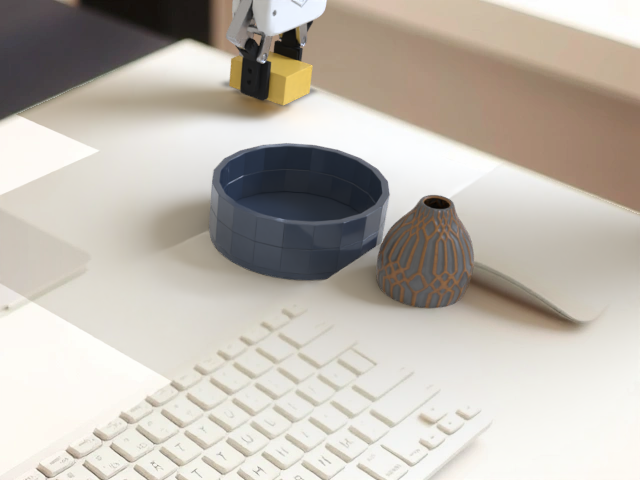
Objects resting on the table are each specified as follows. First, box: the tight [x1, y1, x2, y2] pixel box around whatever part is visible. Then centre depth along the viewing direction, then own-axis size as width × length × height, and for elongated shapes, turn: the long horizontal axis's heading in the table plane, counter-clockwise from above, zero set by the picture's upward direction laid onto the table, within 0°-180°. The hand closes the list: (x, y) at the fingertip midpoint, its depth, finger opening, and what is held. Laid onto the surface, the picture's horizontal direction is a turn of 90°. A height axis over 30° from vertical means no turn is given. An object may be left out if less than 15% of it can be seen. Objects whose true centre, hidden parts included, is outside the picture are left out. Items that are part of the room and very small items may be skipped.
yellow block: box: [228, 50, 314, 106], centre depth 110 cm, size 4×7×3 cm, turn 47°
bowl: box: [208, 142, 391, 281], centre depth 89 cm, size 14×14×5 cm
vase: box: [375, 194, 475, 309], centre depth 80 cm, size 7×7×9 cm
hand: (269, 87), depth 111 cm, fingers closed on yellow block, 4 cm apart
